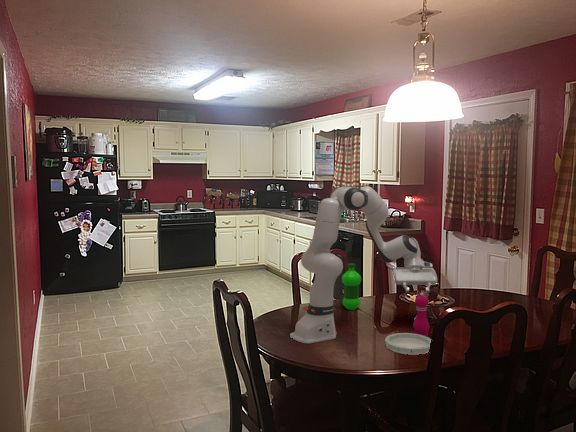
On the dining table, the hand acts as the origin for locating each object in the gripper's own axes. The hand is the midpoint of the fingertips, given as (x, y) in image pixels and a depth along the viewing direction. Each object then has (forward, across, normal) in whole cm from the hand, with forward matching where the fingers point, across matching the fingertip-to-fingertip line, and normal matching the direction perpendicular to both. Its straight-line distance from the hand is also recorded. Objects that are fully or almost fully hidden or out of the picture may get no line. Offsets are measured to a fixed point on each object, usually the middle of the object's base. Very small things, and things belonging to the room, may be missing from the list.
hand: (417, 291), depth 232 cm
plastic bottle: (-11, -29, +37) cm, 48 cm away
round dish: (+30, -8, -4) cm, 31 cm away
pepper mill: (+19, 0, +7) cm, 20 cm away
